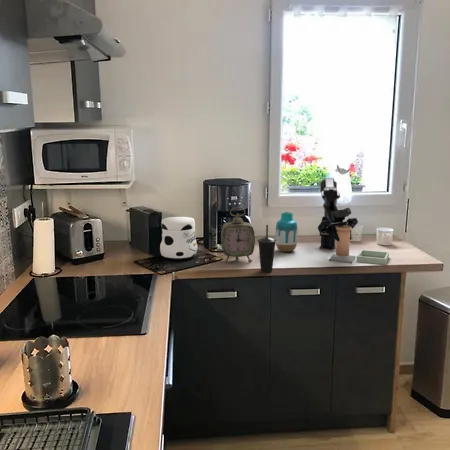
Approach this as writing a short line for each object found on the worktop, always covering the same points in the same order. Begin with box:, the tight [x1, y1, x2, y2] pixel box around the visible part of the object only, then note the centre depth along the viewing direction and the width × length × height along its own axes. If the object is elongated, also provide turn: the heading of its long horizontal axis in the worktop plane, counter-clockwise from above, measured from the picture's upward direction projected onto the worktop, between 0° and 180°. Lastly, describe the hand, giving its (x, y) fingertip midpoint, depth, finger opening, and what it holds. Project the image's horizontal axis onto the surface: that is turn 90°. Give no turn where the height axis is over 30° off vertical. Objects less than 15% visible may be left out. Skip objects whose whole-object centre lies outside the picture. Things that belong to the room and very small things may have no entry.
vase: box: [274, 211, 299, 253], centre depth 246 cm, size 11×11×19 cm
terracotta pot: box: [335, 225, 353, 256], centre depth 231 cm, size 7×7×13 cm
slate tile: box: [328, 253, 356, 264], centre depth 233 cm, size 10×10×1 cm
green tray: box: [356, 249, 390, 265], centre depth 232 cm, size 13×13×2 cm
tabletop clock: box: [220, 206, 256, 264], centre depth 228 cm, size 14×9×25 cm, turn 95°
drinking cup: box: [257, 224, 276, 274], centre depth 213 cm, size 8×8×20 cm
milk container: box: [159, 216, 198, 261], centre depth 236 cm, size 17×17×18 cm
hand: (344, 240), depth 230 cm, fingers closed on terracotta pot, 6 cm apart
